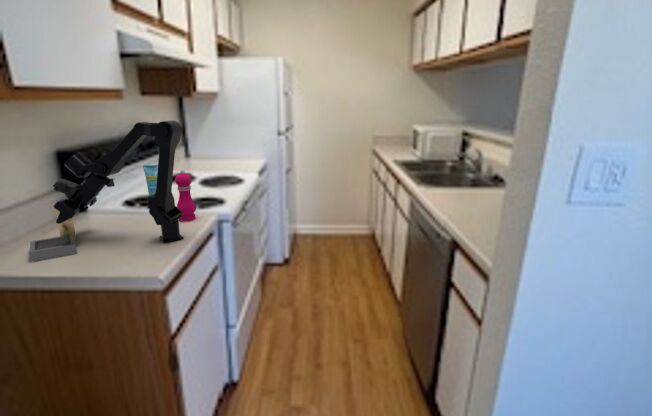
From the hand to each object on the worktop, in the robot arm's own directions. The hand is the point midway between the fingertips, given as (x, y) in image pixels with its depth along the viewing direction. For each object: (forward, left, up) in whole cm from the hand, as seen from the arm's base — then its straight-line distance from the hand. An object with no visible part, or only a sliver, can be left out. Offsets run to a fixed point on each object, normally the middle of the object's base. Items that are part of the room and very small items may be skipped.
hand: (60, 220), depth 129 cm
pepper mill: (-1, -41, -7) cm, 42 cm away
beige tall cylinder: (-1, -1, -7) cm, 7 cm away
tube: (+24, -35, -7) cm, 43 cm away
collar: (-12, +3, -7) cm, 14 cm away
